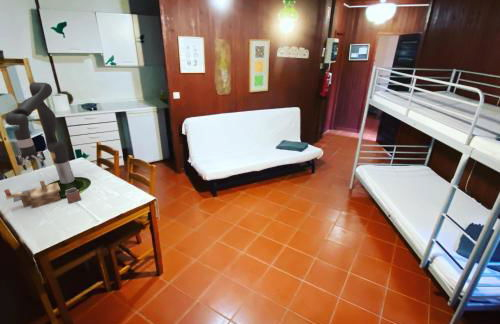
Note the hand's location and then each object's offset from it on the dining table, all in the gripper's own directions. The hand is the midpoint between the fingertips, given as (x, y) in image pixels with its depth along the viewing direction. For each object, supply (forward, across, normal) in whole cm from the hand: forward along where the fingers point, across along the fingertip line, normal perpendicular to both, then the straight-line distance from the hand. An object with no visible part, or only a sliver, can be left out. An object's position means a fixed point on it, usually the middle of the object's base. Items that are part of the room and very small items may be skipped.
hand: (34, 168), depth 170 cm
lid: (+18, -1, 0) cm, 18 cm away
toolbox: (+25, +2, 0) cm, 25 cm away
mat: (+25, +8, -17) cm, 31 cm away
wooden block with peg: (+17, +14, 0) cm, 22 cm away
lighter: (+25, -15, +13) cm, 32 cm away
